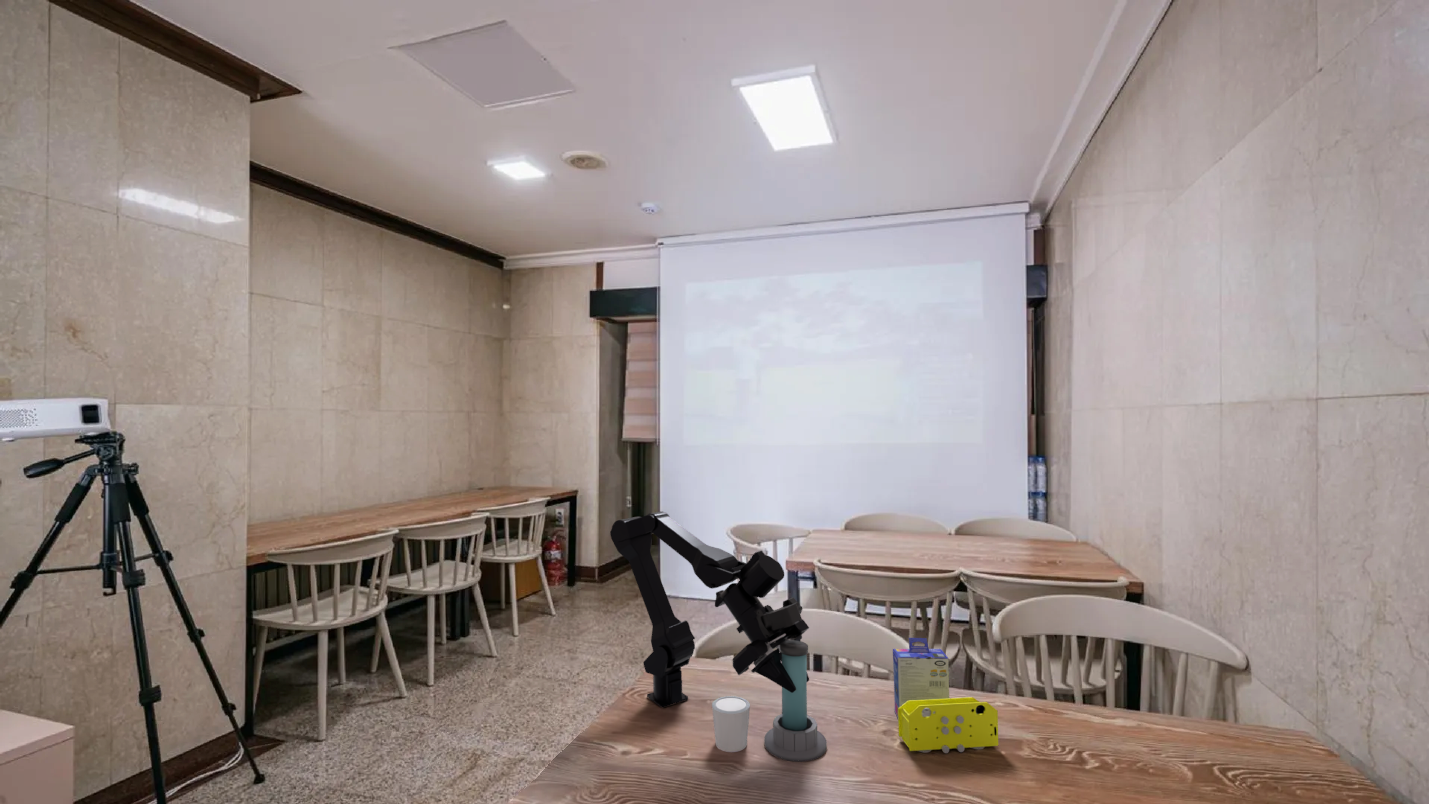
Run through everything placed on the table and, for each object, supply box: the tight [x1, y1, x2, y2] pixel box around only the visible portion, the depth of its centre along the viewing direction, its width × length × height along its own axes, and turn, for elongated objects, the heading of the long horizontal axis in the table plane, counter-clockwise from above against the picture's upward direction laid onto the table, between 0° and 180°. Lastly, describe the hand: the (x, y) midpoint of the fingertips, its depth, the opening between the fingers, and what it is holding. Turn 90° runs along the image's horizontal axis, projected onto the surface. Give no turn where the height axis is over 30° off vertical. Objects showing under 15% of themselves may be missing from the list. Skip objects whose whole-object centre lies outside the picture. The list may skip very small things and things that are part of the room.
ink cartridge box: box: [892, 637, 950, 719], centre depth 118 cm, size 10×6×14 cm, turn 86°
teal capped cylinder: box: [779, 640, 809, 731], centre depth 108 cm, size 5×5×14 cm
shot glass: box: [711, 695, 751, 753], centre depth 108 cm, size 7×7×7 cm
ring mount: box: [763, 713, 828, 763], centre depth 107 cm, size 11×11×4 cm
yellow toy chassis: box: [897, 696, 999, 754], centre depth 107 cm, size 16×6×8 cm, turn 95°
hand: (801, 686), depth 107 cm, fingers closed on teal capped cylinder, 4 cm apart
